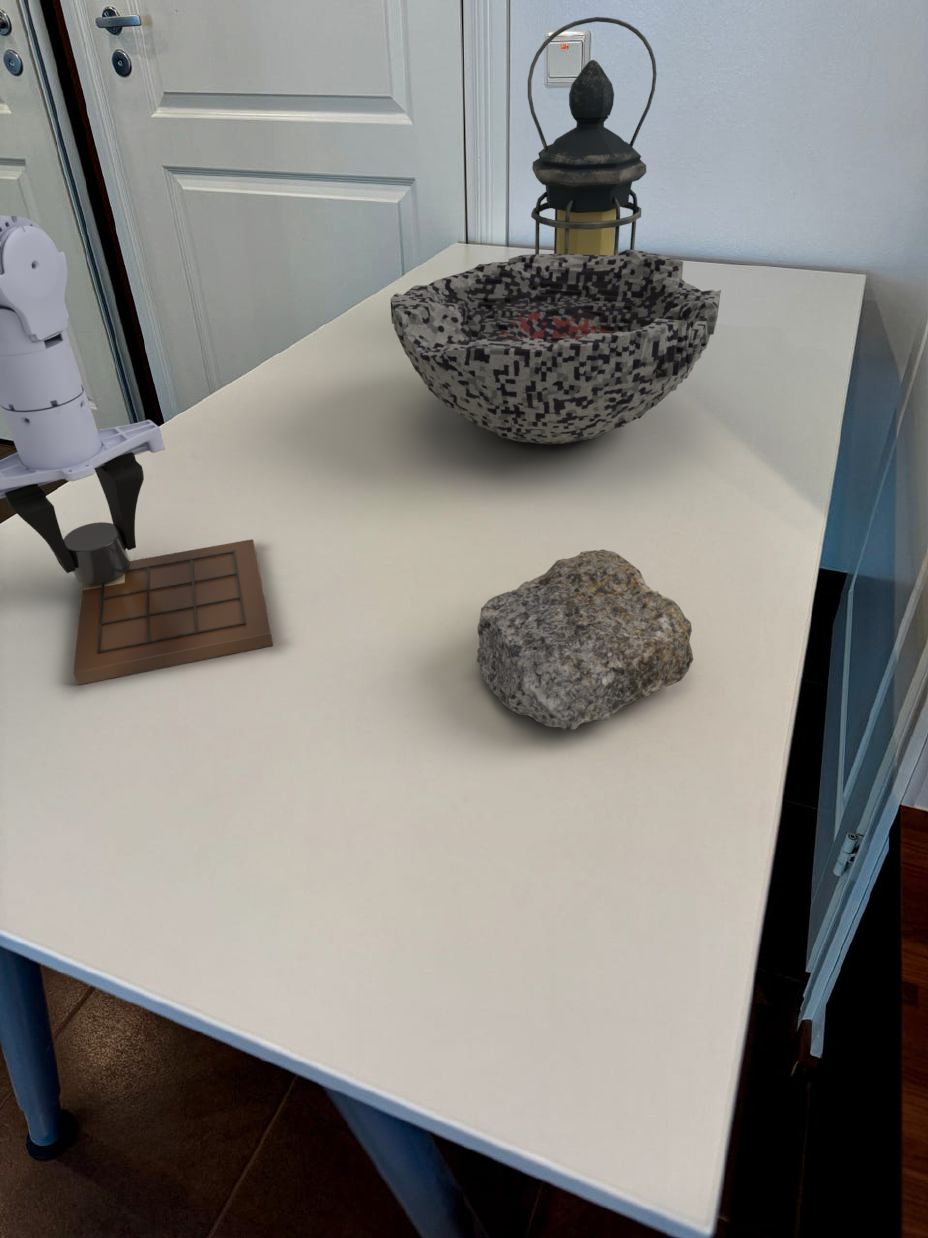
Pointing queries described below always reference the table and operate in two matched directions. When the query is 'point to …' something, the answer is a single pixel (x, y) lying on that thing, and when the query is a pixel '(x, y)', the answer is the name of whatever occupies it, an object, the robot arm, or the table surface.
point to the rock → (581, 641)
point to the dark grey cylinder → (97, 553)
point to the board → (172, 612)
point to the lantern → (588, 164)
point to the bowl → (556, 341)
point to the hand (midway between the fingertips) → (97, 555)
